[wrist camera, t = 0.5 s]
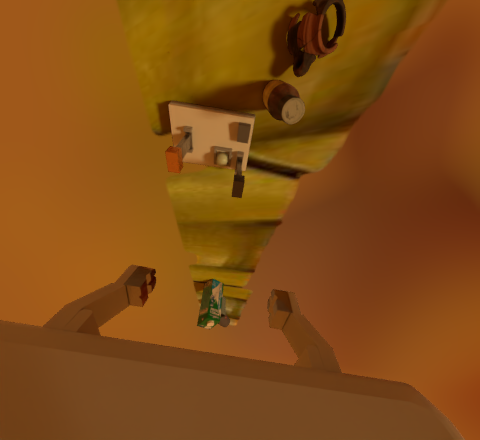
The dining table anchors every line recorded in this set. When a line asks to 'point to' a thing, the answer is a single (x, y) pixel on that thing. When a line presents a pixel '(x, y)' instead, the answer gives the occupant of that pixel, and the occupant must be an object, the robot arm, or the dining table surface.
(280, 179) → the dining table surface
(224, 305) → the grey cup
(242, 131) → the block
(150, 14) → the dining table surface
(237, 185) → the lever black
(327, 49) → the pottery mug
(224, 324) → the bluetooth speaker
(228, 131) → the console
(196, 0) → the dining table surface
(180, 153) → the lever orange
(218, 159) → the push button
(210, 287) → the milk carton
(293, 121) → the sauce bottle
